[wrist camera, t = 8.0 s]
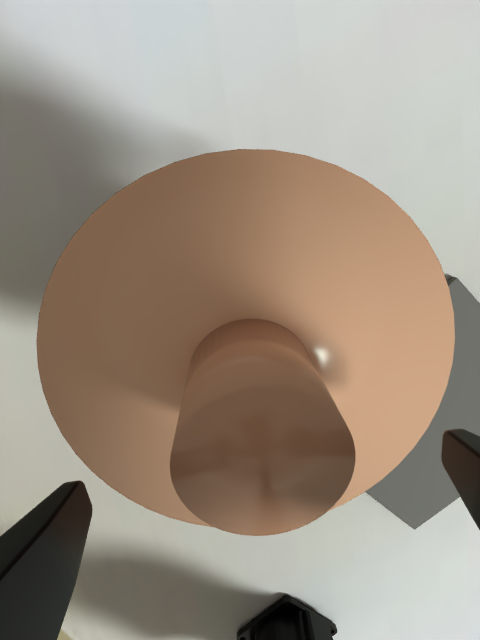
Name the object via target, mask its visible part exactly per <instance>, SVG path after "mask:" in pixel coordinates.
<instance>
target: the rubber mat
mask: <svg viewBox="0 0 480 640" xmlns="http://www.w3.org/2000/svg"><path fill="white" fill-rule="evenodd" d="M447 284H448V287H449V291H450V296H451V301H452V306H453V311H454V327H455V344H454V354H453V363H452V367H451V371H450V376H449V380H448V384H447V387H446V390H445V392H444V395H443V398H442V400H441V403H440V405H439V408H438V410H437V412H436V413H435V415H434V417H433V419H432V421H431V423H430V425H429V426H428V428H427V430H426V431H425V433H424V434H423V435H422V437H421V438H420V440H419V441H418V442H417V444H416V445H415V447H414V448H413V449H412V450H411V451H410V452H409V454H408V455H407V456H406V457H405V458H404V459H403V460H402V461H401V462H400V464H399V465H398V466H396V467H395V468H394V469H393V470H392V471H391V472H390V473H389V474H387V475H386V476H385V477H384V478H383V479H382V480H381V481H379V482H378V483H376V484H375V485H374V486H372V487H371V488H369V489H368V490H367V491H365V492H367V493H368V494H369V495H370V496H372V497H373V498H374V499H376V500H377V501H378V502H379V503H381V504H382V505H383V506H385V507H386V508H387V509H388V510H390V511H391V512H392V513H394V514H395V515H396V516H398V517H399V518H400V519H401V520H403V521H404V522H405V523H407V524H408V525H409V526H410V527H412V528H413V529H414V530H415V529H416V528H417V527H419V526H420V525H422V524H423V523H424V522H426V521H427V520H429V519H430V518H431V517H433V516H434V515H435V514H437V513H438V512H440V511H441V510H442V509H444V508H445V507H446V506H448V505H449V504H451V503H452V502H453V501H455V500H456V499H457V498H459V497H460V495H459V493H458V491H457V490H456V488H455V486H454V484H453V483H452V481H451V479H450V477H449V476H448V474H447V472H446V470H445V469H444V467H443V464H442V460H441V451H442V437H443V433H444V432H445V431H446V430H451V429H459V428H460V429H465V430H467V431H469V432H471V433H474V434H476V435H478V436H480V303H479V302H478V301H477V300H476V299H475V298H474V296H473V295H472V294H471V293H470V292H469V291H468V290H467V288H466V287H465V286H464V285H463V284H462V283H461V282H460V280H459V279H458V278H456V277H452V278H451V279H450V280H449V281H448V282H447Z"/></svg>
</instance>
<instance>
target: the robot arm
mask: <svg viewBox="0 0 480 640" xmlns="http://www.w3.org/2000/svg"><path fill="white" fill-rule="evenodd" d="M441 460H442V464H443V467H444V469H445V470H446V472H447V474H448V476H449V477H450V479H451V481H452V483H453V484H454V486H455V488H456V490H457V491H458V493H459V495H460V497H461V499H462V500H463V502H464V504H465V506H466V507H467V509H468V511H469V513H470V514H471V516H472V518H473V520H474V521H475V523H476V525H477V526H478V528H479V530H480V436H478V435H476V434H474V433H471V432H469V431H467V430H465V429H460V428H459V429H451V430H446V431H445V432H444V433H443V437H442V451H441ZM91 517H92V504H91V501H90V499H89V496H88V493H87V490H86V487H85V485H84V483H83V482H82V481H72V482H66V483H64V484H62V485H61V486H60V487H59V488H57V489H56V490H55V491H54V492H53V493H51V494H50V495H49V496H48V497H47V498H46V499H44V500H43V501H42V502H41V503H40V504H38V505H37V506H36V507H35V508H34V509H32V510H31V511H30V512H29V513H28V514H27V515H25V516H24V517H23V518H22V519H21V520H19V521H18V522H17V523H16V524H15V525H13V526H12V527H11V528H10V529H9V530H7V531H6V532H5V533H4V534H3V535H2V536H0V640H57V638H58V635H59V632H60V629H61V626H62V623H63V620H64V617H65V614H66V611H67V608H68V605H69V602H70V599H71V596H72V593H73V590H74V587H75V583H76V580H77V576H78V572H79V568H80V564H81V559H82V555H83V551H84V547H85V542H86V538H87V534H88V530H89V526H90V521H91ZM336 633H337V628H336V625H335V624H334V623H332V622H331V621H329V620H327V619H326V618H324V617H322V616H321V615H319V614H317V613H316V612H314V611H313V610H311V609H309V608H308V607H306V606H304V605H303V604H301V603H299V602H298V601H296V600H294V599H293V598H291V597H283V598H282V599H280V600H279V601H278V602H276V603H275V604H274V605H272V606H271V607H270V608H268V609H267V610H266V611H264V612H263V613H262V614H260V615H259V616H258V617H256V618H255V619H254V620H252V621H251V622H250V623H248V624H247V625H246V626H244V627H243V628H242V629H240V630H239V631H238V632H237V640H333V638H332V636H334V635H335V634H336Z"/></svg>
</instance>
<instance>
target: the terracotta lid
mask: <svg viewBox="0 0 480 640" xmlns="http://www.w3.org/2000/svg"><path fill="white" fill-rule="evenodd" d="M454 344H455V327H454V311H453V306H452V301H451V296H450V291H449V287H448V284H447V281H446V278H445V276H444V273H443V270H442V267H441V264H440V262H439V260H438V259H437V257H436V255H435V253H434V251H433V249H432V247H431V246H430V244H429V242H428V240H427V239H426V237H425V236H424V235H423V233H422V232H421V231H420V229H419V228H418V227H417V225H416V224H415V223H414V221H413V220H412V219H411V218H410V216H409V215H407V214H406V213H405V212H404V211H403V210H402V209H401V208H400V207H399V206H398V205H397V204H396V203H395V202H394V201H393V200H392V199H391V198H390V197H389V196H387V195H386V194H384V193H383V192H382V191H380V190H379V189H377V188H376V187H374V186H373V185H372V184H370V183H369V182H367V181H366V180H365V179H363V178H361V177H359V176H357V175H355V174H353V173H351V172H349V171H347V170H345V169H343V168H341V167H339V166H337V165H334V164H331V163H328V162H324V161H321V160H318V159H315V158H312V157H309V156H306V155H301V154H294V153H288V152H282V151H276V150H252V149H237V150H229V151H222V152H214V153H206V154H202V155H199V156H195V157H192V158H188V159H184V160H181V161H177V162H174V163H171V164H169V165H167V166H165V167H162V168H160V169H158V170H156V171H153V172H151V173H149V174H147V175H144V176H142V177H141V178H139V179H138V180H136V181H135V182H133V183H131V184H130V185H128V186H127V187H125V188H123V189H122V190H120V191H119V192H117V193H116V194H115V195H113V196H112V197H111V198H110V199H109V200H108V201H106V202H105V203H104V204H103V205H102V206H101V207H99V208H98V209H97V210H96V211H95V212H94V213H93V214H92V215H91V216H90V217H89V218H88V219H87V220H86V222H85V223H84V224H83V225H82V226H81V227H80V229H79V230H78V231H77V232H76V233H75V234H74V236H73V237H72V238H71V240H70V242H69V243H68V245H67V246H66V248H65V250H64V251H63V253H62V255H61V256H60V258H59V259H58V261H57V263H56V265H55V268H54V270H53V272H52V275H51V277H50V279H49V282H48V284H47V286H46V289H45V293H44V297H43V301H42V305H41V309H40V313H39V321H38V331H37V358H38V369H39V374H40V379H41V383H42V388H43V392H44V395H45V398H46V400H47V403H48V406H49V409H50V412H51V414H52V416H53V418H54V420H55V422H56V424H57V426H58V427H59V429H60V431H61V433H62V435H63V436H64V438H65V439H66V441H67V442H68V443H69V445H70V446H71V448H72V449H73V450H74V452H75V453H76V455H77V456H78V457H79V458H80V459H81V460H82V461H83V462H84V463H85V464H86V465H87V467H88V468H89V469H90V470H91V471H92V472H93V473H95V474H96V475H97V476H98V477H99V478H100V479H102V480H103V481H104V482H105V483H106V484H107V485H109V486H110V487H111V488H113V489H114V490H116V491H117V492H119V493H120V494H122V495H123V496H125V497H126V498H128V499H130V500H132V501H134V502H135V503H137V504H139V505H141V506H143V507H145V508H147V509H149V510H152V511H154V512H157V513H159V514H162V515H165V516H167V517H170V518H173V519H177V520H181V521H184V522H188V523H192V524H198V525H204V526H210V527H215V528H218V529H221V530H223V531H227V532H230V533H235V534H241V535H251V536H264V535H274V534H280V533H284V532H288V531H291V530H294V529H297V528H300V527H302V526H304V525H307V524H309V523H311V522H312V521H314V520H316V519H318V518H319V517H320V516H322V515H323V514H325V513H326V512H327V511H329V510H331V509H334V508H336V507H338V506H340V505H343V504H345V503H346V502H348V501H350V500H352V499H353V498H355V497H357V496H359V495H360V494H362V493H364V492H365V491H367V490H368V489H369V488H371V487H372V486H374V485H375V484H376V483H378V482H379V481H381V480H382V479H383V478H384V477H385V476H386V475H387V474H389V473H390V472H391V471H392V470H393V469H394V468H395V467H396V466H398V465H399V464H400V462H401V461H402V460H403V459H404V458H405V457H406V456H407V455H408V454H409V452H410V451H411V450H412V449H413V448H414V447H415V445H416V444H417V442H418V441H419V440H420V438H421V437H422V435H423V434H424V433H425V431H426V430H427V428H428V426H429V425H430V423H431V421H432V419H433V417H434V415H435V413H436V412H437V410H438V408H439V405H440V403H441V400H442V398H443V395H444V392H445V390H446V387H447V384H448V380H449V376H450V371H451V367H452V363H453V354H454Z"/></svg>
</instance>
